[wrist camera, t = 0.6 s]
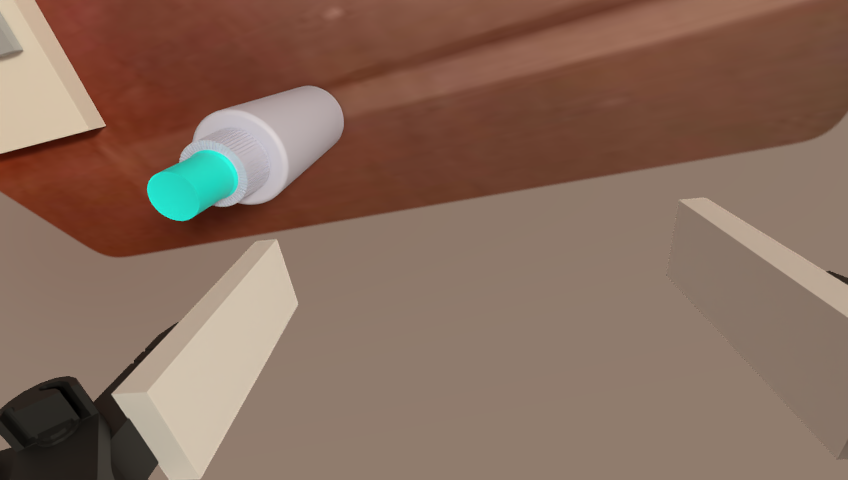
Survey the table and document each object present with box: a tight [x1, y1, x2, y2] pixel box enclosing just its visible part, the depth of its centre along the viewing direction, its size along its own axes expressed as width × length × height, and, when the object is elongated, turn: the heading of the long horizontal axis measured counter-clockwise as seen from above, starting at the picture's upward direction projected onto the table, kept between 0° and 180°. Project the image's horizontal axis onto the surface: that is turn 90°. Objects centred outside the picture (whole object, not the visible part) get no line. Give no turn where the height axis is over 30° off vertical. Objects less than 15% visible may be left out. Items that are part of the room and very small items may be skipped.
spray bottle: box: [147, 86, 344, 221], centre depth 28 cm, size 6×6×22 cm
